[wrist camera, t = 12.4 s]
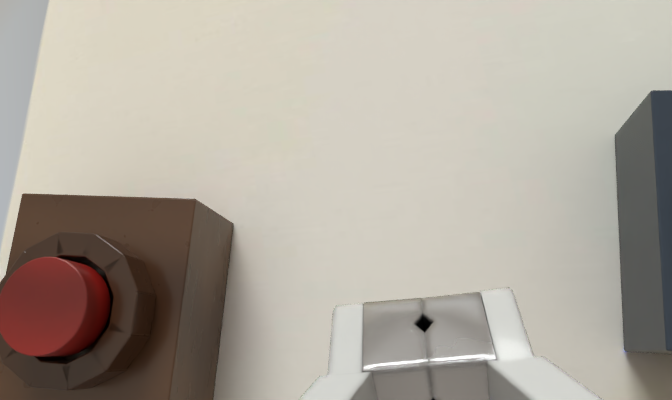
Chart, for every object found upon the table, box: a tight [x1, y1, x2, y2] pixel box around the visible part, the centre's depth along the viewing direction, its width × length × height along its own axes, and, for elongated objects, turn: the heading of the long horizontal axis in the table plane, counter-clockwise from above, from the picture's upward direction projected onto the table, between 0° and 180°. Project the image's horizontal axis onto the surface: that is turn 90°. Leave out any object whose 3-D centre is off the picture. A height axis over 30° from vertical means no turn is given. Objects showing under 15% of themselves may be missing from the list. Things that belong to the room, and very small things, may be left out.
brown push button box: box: [0, 194, 233, 400], centre depth 32 cm, size 12×10×8 cm
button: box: [0, 257, 110, 356], centre depth 27 cm, size 4×4×2 cm
